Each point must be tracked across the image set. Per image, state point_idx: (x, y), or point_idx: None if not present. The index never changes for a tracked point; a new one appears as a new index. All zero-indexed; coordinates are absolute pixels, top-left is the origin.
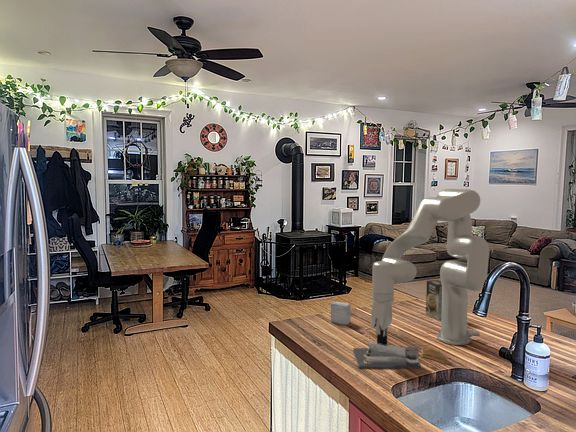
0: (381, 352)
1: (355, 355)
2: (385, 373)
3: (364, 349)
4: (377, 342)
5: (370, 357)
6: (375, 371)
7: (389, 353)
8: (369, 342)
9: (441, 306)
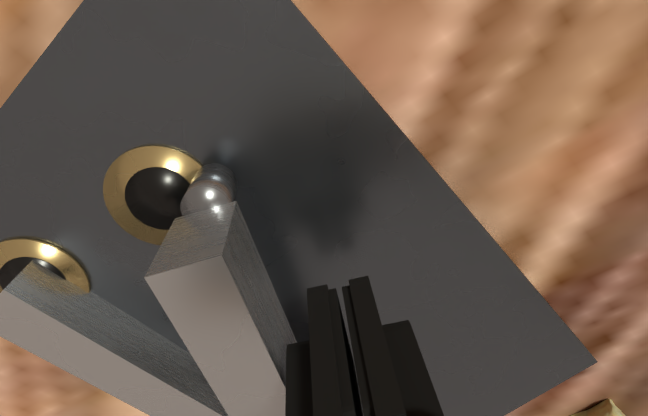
0: (349, 251)
1: (31, 72)
2: (74, 412)
3: (279, 58)
4: (268, 353)
5: (32, 332)
6: (23, 360)
7: (381, 311)
8: (160, 283)
9: None
